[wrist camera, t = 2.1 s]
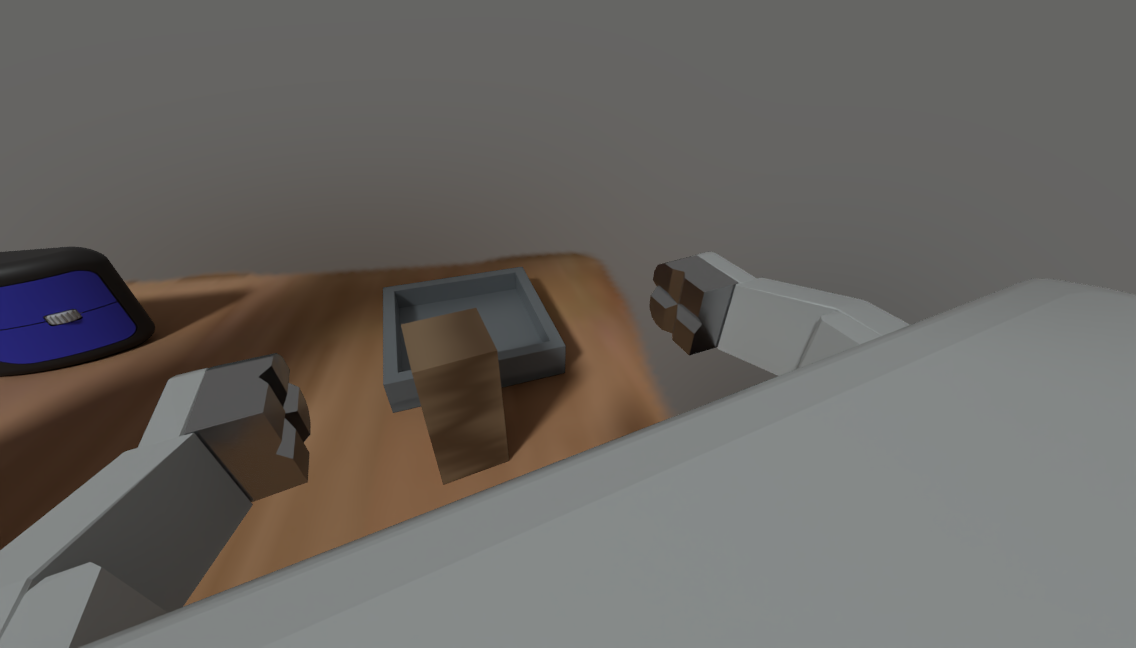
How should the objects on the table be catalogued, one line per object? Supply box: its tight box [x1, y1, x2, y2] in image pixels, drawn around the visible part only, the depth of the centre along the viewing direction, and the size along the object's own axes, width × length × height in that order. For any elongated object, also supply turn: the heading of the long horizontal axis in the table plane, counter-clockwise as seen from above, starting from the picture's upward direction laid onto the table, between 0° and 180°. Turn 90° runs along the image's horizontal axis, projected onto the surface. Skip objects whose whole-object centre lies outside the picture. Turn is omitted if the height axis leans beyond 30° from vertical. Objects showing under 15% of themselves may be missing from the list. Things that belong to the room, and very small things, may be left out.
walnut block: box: [401, 308, 509, 485], centre depth 27 cm, size 4×4×10 cm
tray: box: [383, 267, 566, 413], centre depth 38 cm, size 14×14×3 cm
